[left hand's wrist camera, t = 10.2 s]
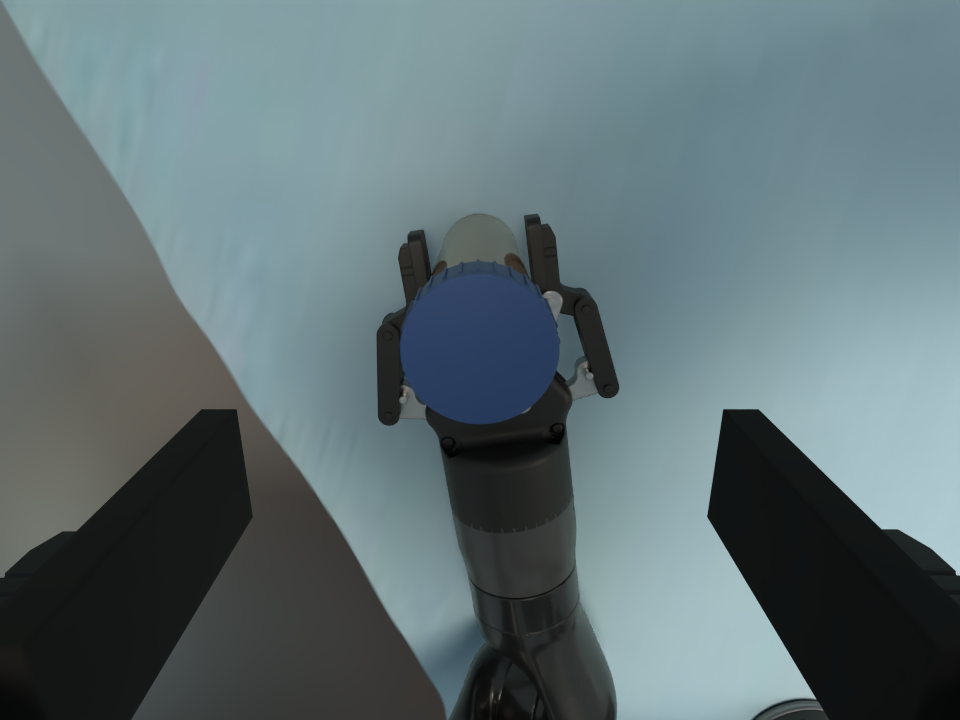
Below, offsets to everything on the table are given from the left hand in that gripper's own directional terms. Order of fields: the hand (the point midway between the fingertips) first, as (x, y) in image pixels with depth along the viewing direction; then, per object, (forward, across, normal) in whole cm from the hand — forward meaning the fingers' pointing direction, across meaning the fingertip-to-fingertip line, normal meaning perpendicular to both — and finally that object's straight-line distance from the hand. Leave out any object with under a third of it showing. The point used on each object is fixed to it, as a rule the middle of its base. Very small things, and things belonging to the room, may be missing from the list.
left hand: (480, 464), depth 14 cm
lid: (+8, 0, 0) cm, 8 cm away
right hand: (+20, 0, -2) cm, 21 cm away
